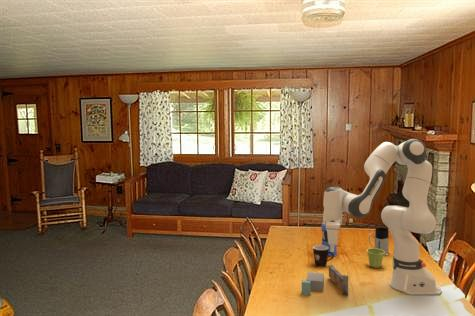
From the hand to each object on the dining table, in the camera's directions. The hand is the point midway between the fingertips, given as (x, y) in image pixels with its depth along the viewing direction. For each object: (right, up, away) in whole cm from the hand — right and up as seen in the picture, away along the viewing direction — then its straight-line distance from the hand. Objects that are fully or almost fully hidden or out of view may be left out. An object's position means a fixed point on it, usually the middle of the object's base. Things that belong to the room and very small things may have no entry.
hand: (332, 248), depth 185 cm
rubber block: (-7, -20, +4) cm, 21 cm away
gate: (+3, -18, +4) cm, 19 cm away
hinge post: (+5, -20, -6) cm, 22 cm away
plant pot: (+31, -17, +28) cm, 45 cm away
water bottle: (+10, -15, +49) cm, 52 cm away
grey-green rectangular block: (-14, -20, -5) cm, 25 cm away
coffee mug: (+2, -17, +30) cm, 35 cm away
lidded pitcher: (+40, -15, +48) cm, 64 cm away
